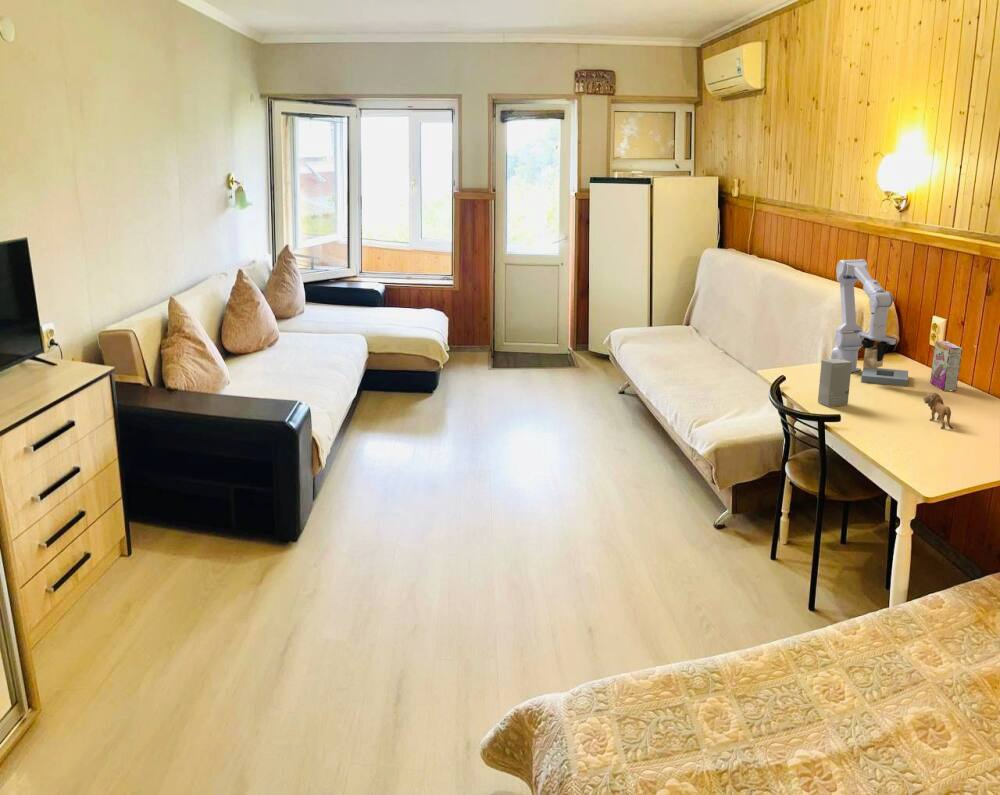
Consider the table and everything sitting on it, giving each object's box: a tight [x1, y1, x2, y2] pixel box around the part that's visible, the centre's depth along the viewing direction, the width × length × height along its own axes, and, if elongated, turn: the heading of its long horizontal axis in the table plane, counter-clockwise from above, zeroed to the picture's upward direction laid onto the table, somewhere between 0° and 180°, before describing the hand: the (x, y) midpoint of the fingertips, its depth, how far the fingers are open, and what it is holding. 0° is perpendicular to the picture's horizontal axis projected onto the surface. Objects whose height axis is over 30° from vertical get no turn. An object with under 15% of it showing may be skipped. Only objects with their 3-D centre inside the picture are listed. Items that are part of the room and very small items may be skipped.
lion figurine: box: [922, 391, 954, 430], centre depth 271 cm, size 15×5×9 cm, turn 5°
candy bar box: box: [929, 340, 963, 392], centre depth 308 cm, size 11×5×16 cm, turn 179°
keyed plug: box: [862, 345, 885, 369], centre depth 314 cm, size 4×6×7 cm, turn 122°
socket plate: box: [860, 366, 909, 387], centre depth 321 cm, size 16×14×2 cm
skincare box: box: [817, 358, 852, 408], centre depth 292 cm, size 8×7×16 cm
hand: (873, 359), depth 314 cm, fingers closed on keyed plug, 4 cm apart
